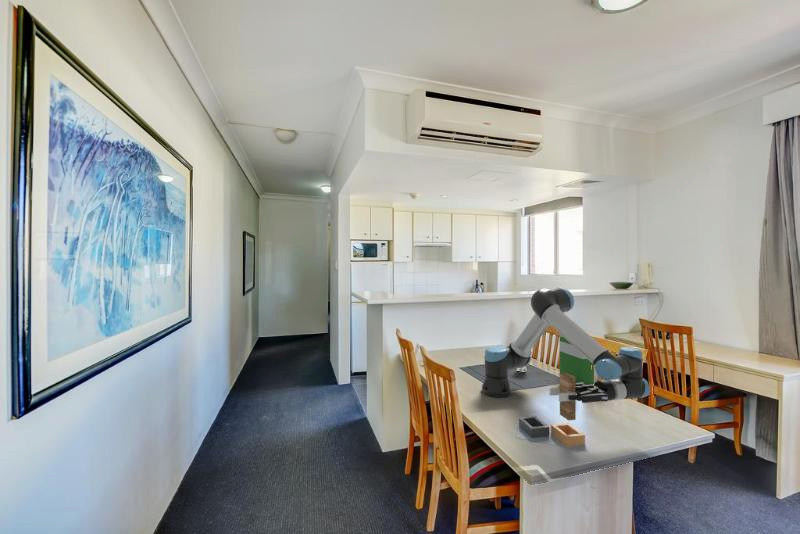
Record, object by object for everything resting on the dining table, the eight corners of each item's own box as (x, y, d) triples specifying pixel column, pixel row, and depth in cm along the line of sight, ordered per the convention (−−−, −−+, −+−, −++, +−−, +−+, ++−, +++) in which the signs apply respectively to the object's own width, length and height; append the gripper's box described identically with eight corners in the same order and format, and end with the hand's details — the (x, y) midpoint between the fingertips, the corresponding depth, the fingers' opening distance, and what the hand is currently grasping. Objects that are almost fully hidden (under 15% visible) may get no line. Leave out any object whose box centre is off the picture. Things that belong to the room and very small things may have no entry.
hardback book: (559, 375, 200) (559, 336, 199) (570, 374, 202) (569, 335, 201) (582, 386, 183) (582, 342, 182) (593, 384, 184) (593, 341, 184)
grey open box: (531, 437, 128) (531, 428, 128) (519, 426, 137) (518, 417, 137) (549, 436, 129) (549, 427, 129) (535, 424, 138) (535, 416, 138)
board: (516, 440, 128) (516, 437, 128) (518, 424, 141) (518, 421, 141) (587, 454, 118) (587, 451, 118) (583, 435, 131) (583, 432, 131)
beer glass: (526, 373, 204) (526, 349, 204) (514, 372, 208) (514, 348, 207) (528, 370, 210) (528, 346, 210) (517, 368, 213) (516, 345, 213)
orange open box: (566, 446, 122) (566, 436, 122) (551, 433, 131) (551, 424, 131) (584, 444, 123) (584, 435, 123) (568, 431, 132) (568, 422, 132)
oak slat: (568, 420, 124) (568, 377, 124) (559, 414, 129) (559, 373, 129) (575, 419, 124) (575, 377, 124) (566, 413, 129) (566, 372, 129)
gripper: (628, 409, 121) (570, 415, 117) (592, 390, 138) (540, 395, 135) (628, 388, 121) (570, 393, 117) (592, 372, 138) (540, 376, 135)
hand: (554, 394), depth 126 cm, fingers closed on oak slat, 5 cm apart
